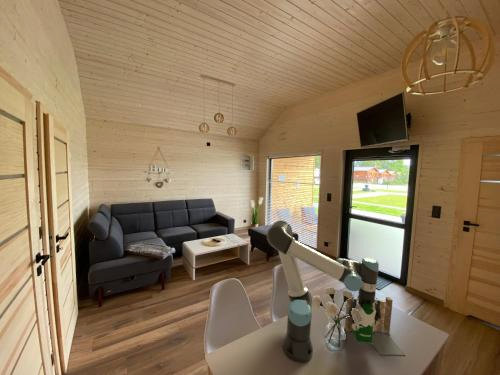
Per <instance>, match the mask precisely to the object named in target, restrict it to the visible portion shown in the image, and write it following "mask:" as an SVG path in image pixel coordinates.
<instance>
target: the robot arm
mask: <svg viewBox="0 0 500 375" xmlns="http://www.w3.org/2000/svg"><path fill="white" fill-rule="evenodd" d="M266 240H267V241H268V244H269V246H271V247H272V248H274V249H275V250H277V251H278V256H279V259H280V261H281V265H282V269H283V272H284V275H285V279H286V282H287V286H288V291H287V295H288V299H289V302H290V303H288V307H287V322H286V323H287V324H286V334H285V335H284V337H283V341H282V350H283V353H284V355H286V357H287V358H289V359H290V360H292V361H294V362H298V363H305V362H308V361H310V360H311V359H312V358H313V354H314V347H313V344H312V343H313V342H312V340H311V329H312V328H311V326H312V318H313V317H312V316H313V315H312V314H313V312H312V311H313V310H312V309H313V308H312V307H313V297H312V293H310V291H309V289H308V286H306V285H305V284H304V281H303V277H302V274H301V270H300V267H299V263H298V261H297V259H298V260H299V261H301V262H303V263H305V264H307V265H309V266H311V267H313V268H314V269H316V270H318V271H320V272H322V274H325V275H327V276H329V277H331V278H333V279H335V280H337V281H339V282H340V283H342V284H343V285H344V287H345V288H346V289H347V290H348V291H351V292H358V296H357V297H354V296H351V297H352V302H351V305H350V308H349V311H348V314H349V316H350V317H351V322H352V328H353V329H354V331H355V328H356V322H354V320H353V318H352V316H351V311H352V308H355V307H356V303H357V301H358V304H359V303H360V304H361V305H360V304H359V305H360V307H363V304H366V303H369V304H371V305H372V304H373V303H374V302H375V310H376V314H375V317H374V325H376V321H378V318H379V319H380V318H381V314H380V301H379V300H380V299H378V297H376V295H377V294H376V291H377V285H378V284H377V282H378V276H379V272H380V271H379V269H380V268H379V266H380V265H379V262H378V260H376V259H374V258H371V257H363V258H362V259H361V261H359V260H355V259H354V260H353V259H349V258H348V259H347V258H341V257H338V258H337V259H336V260H334V259H333V258H331V257H329V256H327V255H325V254H322V253H321V252H319V251H317V250H315V249H313V248H311V247H309V246H307V245H305V244H303V243H301V242H299V241H298V240H296V238H295V237H294V236H293V229H292V225H291V224H290V223H289V222H287V221H286V220H282V219H280V220H278V221H275V222H274V223H273V224H272V225H271V227H269V229H268V230H267V232H266ZM372 308H373V305H372ZM373 332H375V331H374V326H373Z"/></svg>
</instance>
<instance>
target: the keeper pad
mask: <svg viewBox="0 0 500 375" xmlns="http://www.w3.org/2000/svg"><path fill="white" fill-rule="evenodd" d="M371 344H372V346H373V348H374V349H375V350H376V351H377V353H378V355H379V356H404V357H405V356H406V354H405V353H404V351H403V350H402V349H401V348H400V346H399V345H398V344H397V342H396V341H395V340H394V339H393V338H392V336H391V335H390V334H374V333H373V335H372V343H371Z"/></svg>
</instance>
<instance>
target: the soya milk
mask: <svg viewBox="0 0 500 375" xmlns="http://www.w3.org/2000/svg"><path fill="white" fill-rule="evenodd" d="M359 304H360V303H359ZM359 304H358V301H357V303H356V307H355V308H356V309H358V310H359V312H360V314H361V317H362V321H360V322H356V328H355V331H354V329H353V330H351V331H352V333H353V335H354V337H355V339H356V342H358V343H367V344H372V335H373V334H374V333H373V326H374V317H375V314H376V310H375V309H374V307H373V308H372V305H371V304H369V303H366V304H363V307H360V305H361V304H360V305H359Z"/></svg>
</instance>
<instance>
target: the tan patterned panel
mask: <svg viewBox="0 0 500 375" xmlns="http://www.w3.org/2000/svg"><path fill="white" fill-rule="evenodd" d="M352 297H353V296H351V298H350V299H349V300H347V299H346V305H345V306H346V307H345V308H346V309H345V315H346V314H348V311H349V308H350V305H351V302H352ZM384 301H385V310H384V321H383V331H384V333H385V334H390V331H391V321H392V311H393V310H392V309H393V299H392V298H391V297H390V296H385V300H384ZM345 318H346V317H345ZM345 318H344V319H345ZM344 329H345V331H346V332H347V333H349V332H351V331H352V330H351V317H347V318H346V319H345V320H344Z"/></svg>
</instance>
